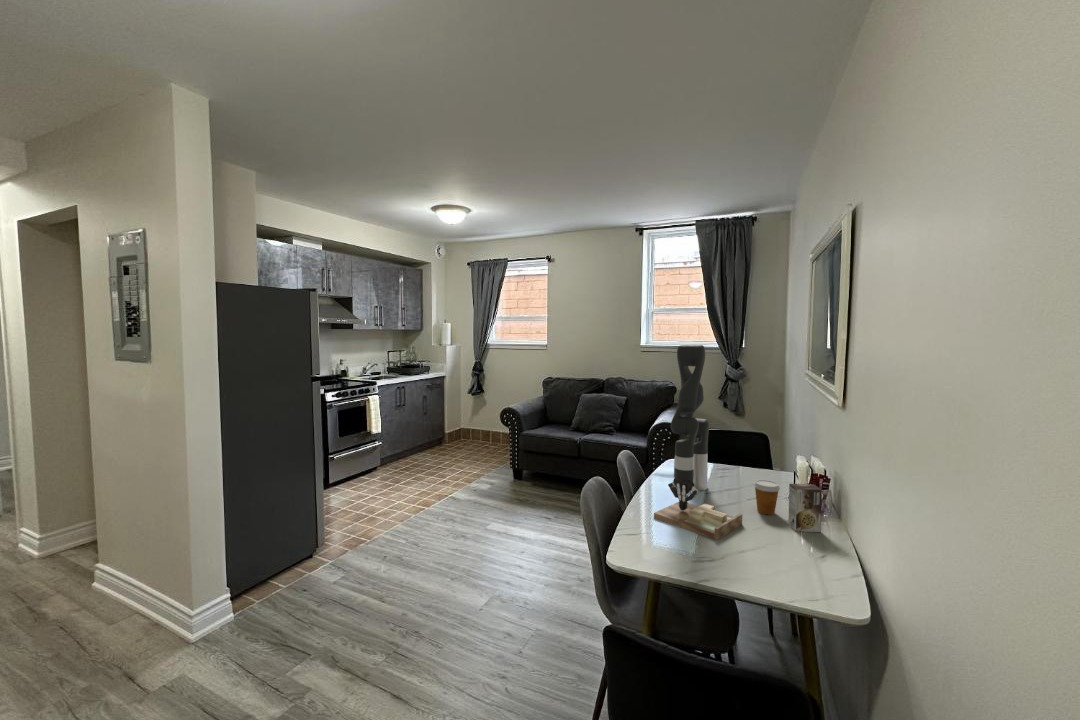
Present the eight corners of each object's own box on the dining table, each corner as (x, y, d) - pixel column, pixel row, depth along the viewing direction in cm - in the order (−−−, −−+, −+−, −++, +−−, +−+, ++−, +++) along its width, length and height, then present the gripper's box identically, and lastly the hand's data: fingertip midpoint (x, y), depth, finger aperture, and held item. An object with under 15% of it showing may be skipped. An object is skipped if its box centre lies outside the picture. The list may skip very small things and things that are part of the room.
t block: (704, 512, 178) (704, 503, 177) (732, 520, 169) (732, 511, 169) (688, 520, 170) (689, 511, 169) (716, 529, 161) (717, 519, 161)
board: (680, 505, 190) (680, 496, 190) (742, 524, 171) (742, 514, 170) (653, 517, 177) (653, 507, 176) (717, 540, 157) (717, 528, 157)
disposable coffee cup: (767, 517, 177) (767, 488, 177) (747, 509, 186) (748, 481, 185) (784, 514, 181) (785, 485, 180) (764, 506, 189) (765, 478, 189)
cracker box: (812, 525, 170) (814, 483, 169) (821, 532, 164) (823, 489, 163) (787, 524, 171) (788, 482, 170) (795, 531, 165) (796, 488, 164)
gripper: (704, 468, 175) (703, 511, 176) (673, 461, 185) (673, 502, 186) (694, 472, 170) (693, 517, 171) (664, 465, 180) (663, 507, 181)
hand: (683, 509), depth 178 cm, fingers closed
